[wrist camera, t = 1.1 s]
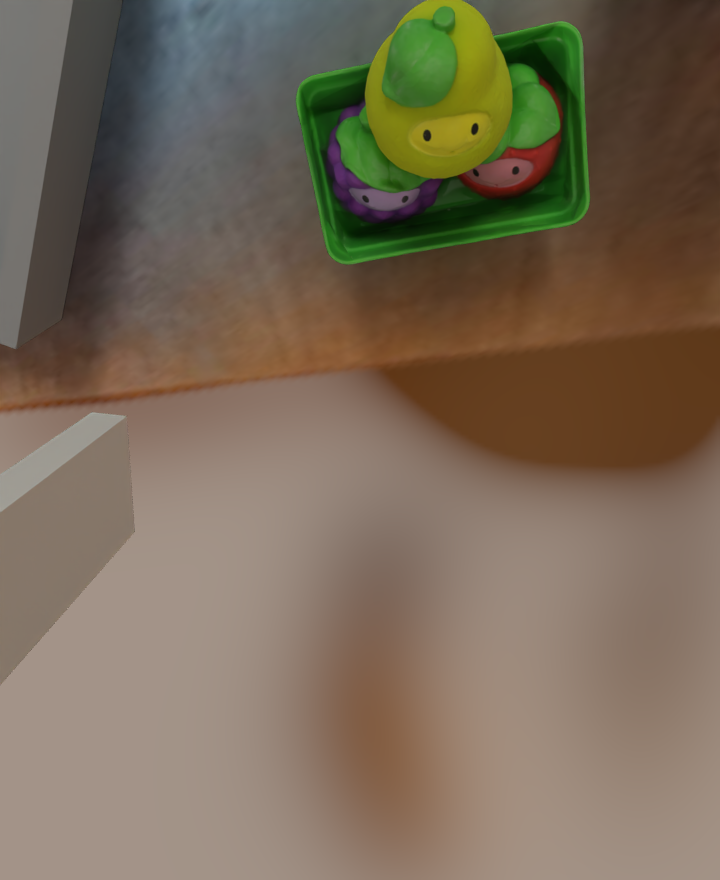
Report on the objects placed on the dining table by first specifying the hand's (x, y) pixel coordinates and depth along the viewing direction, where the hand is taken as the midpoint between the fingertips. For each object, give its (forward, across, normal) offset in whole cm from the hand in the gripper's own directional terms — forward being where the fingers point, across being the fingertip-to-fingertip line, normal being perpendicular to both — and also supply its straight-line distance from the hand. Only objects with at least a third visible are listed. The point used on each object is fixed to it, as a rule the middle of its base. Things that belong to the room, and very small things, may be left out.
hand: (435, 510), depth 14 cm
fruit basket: (+24, -1, +8) cm, 25 cm away
